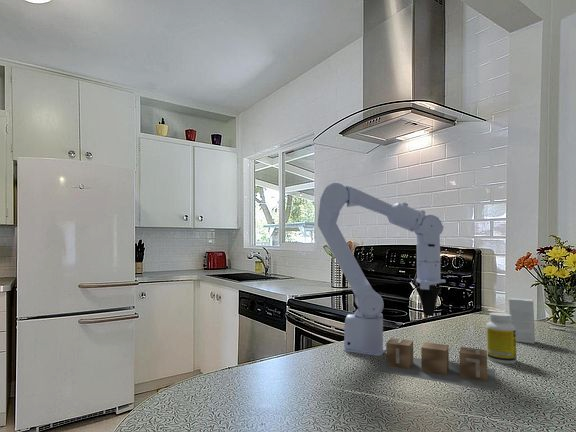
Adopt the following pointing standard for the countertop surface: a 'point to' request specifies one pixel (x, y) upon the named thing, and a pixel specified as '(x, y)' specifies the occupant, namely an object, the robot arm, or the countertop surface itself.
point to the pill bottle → (501, 338)
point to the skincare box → (523, 319)
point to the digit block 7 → (473, 363)
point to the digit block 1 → (399, 353)
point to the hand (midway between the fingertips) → (429, 315)
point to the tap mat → (451, 376)
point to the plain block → (435, 358)
